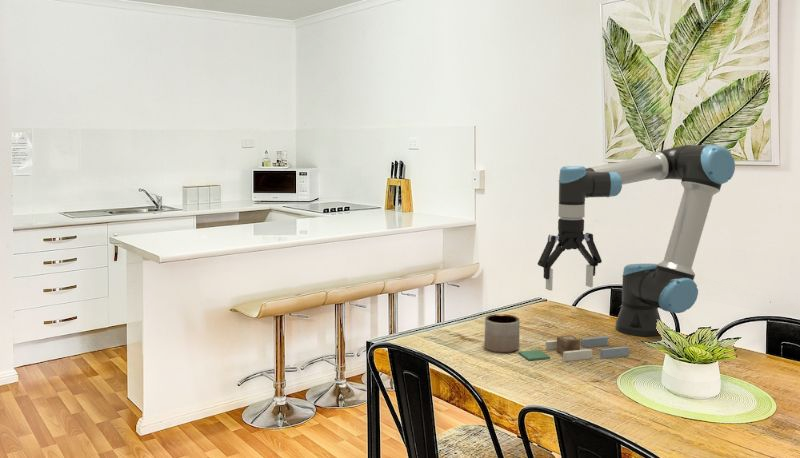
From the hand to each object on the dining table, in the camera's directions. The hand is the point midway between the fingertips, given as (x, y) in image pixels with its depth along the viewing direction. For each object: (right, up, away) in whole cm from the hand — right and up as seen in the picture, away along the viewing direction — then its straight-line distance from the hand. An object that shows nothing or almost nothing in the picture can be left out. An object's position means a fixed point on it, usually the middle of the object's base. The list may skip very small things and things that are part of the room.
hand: (569, 288), depth 198 cm
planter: (-19, -20, +9) cm, 29 cm away
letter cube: (0, -20, +3) cm, 21 cm away
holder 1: (0, -20, +3) cm, 21 cm away
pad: (-11, -21, +1) cm, 23 cm away
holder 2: (+12, -20, +5) cm, 24 cm away
